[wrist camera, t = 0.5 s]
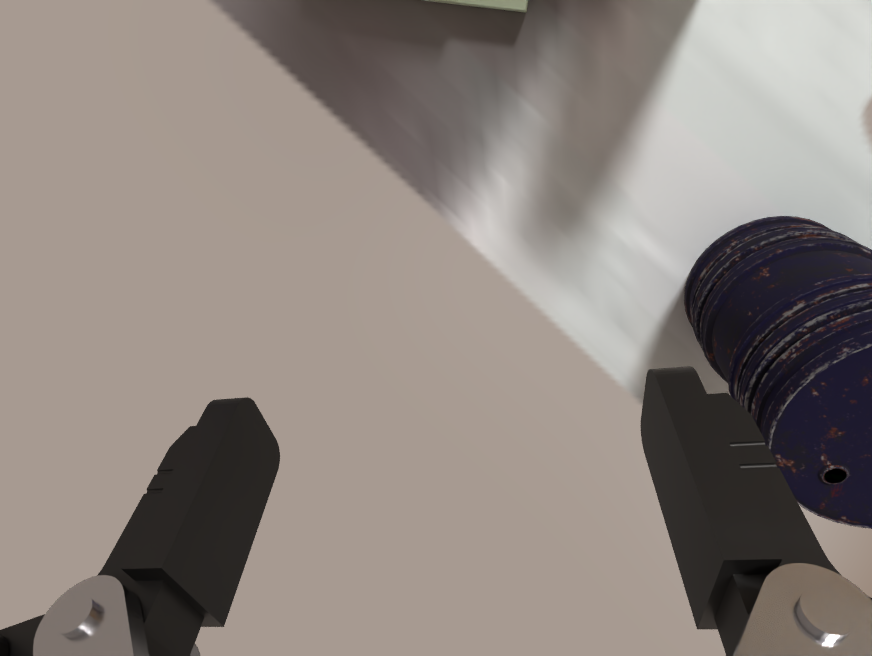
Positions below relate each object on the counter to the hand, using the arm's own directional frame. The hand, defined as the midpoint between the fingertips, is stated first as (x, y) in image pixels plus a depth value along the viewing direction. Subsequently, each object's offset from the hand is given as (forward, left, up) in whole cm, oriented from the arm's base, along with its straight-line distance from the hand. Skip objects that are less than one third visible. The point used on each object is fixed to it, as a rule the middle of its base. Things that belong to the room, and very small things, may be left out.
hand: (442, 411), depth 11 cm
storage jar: (+5, +17, -26) cm, 31 cm away
